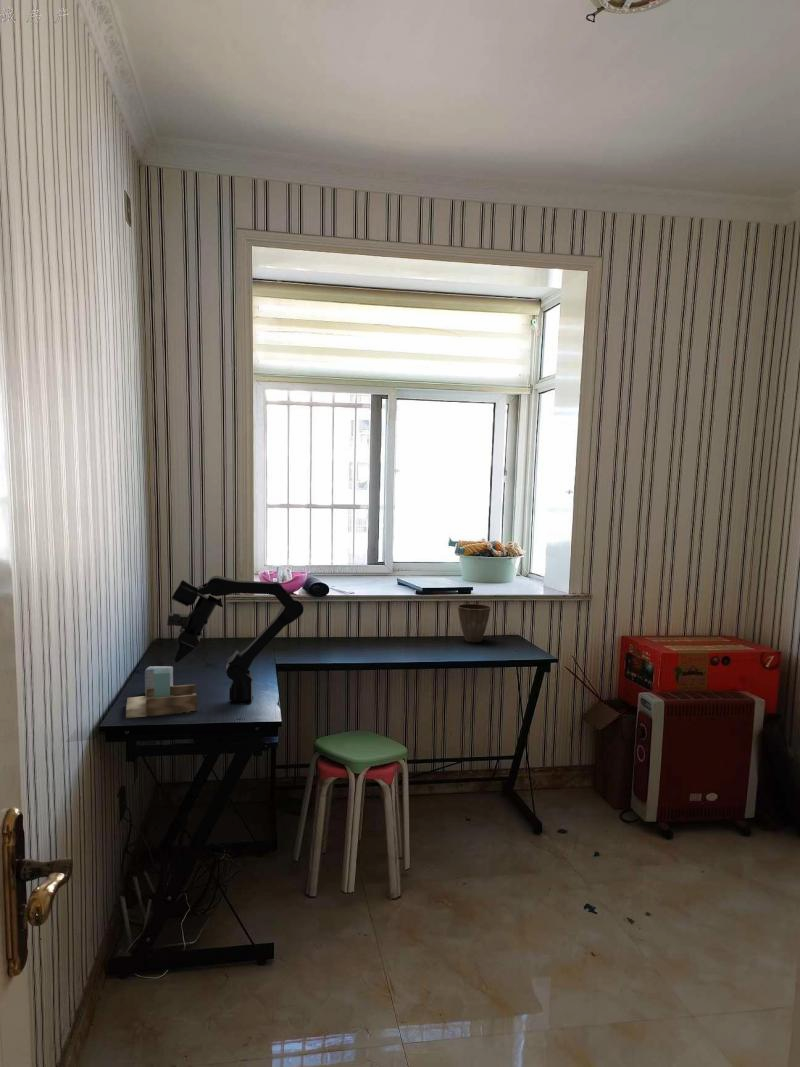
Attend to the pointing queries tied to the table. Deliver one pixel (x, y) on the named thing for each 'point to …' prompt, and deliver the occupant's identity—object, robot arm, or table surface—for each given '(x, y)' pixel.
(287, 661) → the table surface
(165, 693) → the teal block
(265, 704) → the table surface
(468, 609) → the plant pot
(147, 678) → the medicine box
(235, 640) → the table surface
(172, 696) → the channel track
